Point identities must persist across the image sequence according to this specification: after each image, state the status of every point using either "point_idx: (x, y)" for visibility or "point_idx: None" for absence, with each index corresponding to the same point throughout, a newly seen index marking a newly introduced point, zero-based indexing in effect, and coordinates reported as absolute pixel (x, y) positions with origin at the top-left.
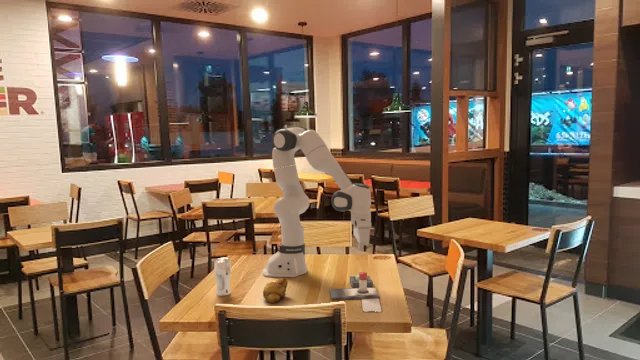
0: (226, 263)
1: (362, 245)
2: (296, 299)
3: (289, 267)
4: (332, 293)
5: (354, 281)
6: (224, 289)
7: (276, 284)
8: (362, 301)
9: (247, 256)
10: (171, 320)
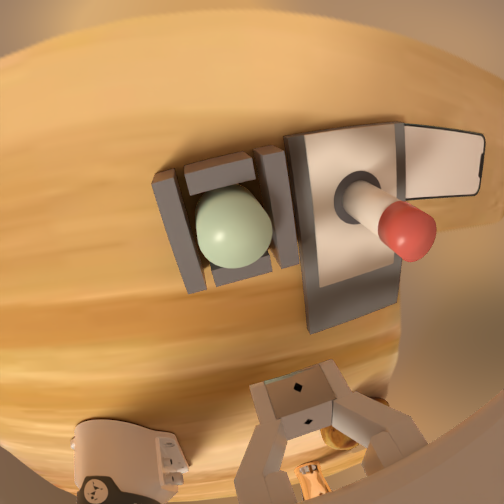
0: None
1: (381, 412)
2: (364, 377)
3: (164, 465)
4: (359, 312)
5: (269, 257)
6: (320, 471)
7: None
8: (419, 194)
9: (66, 488)
10: None
